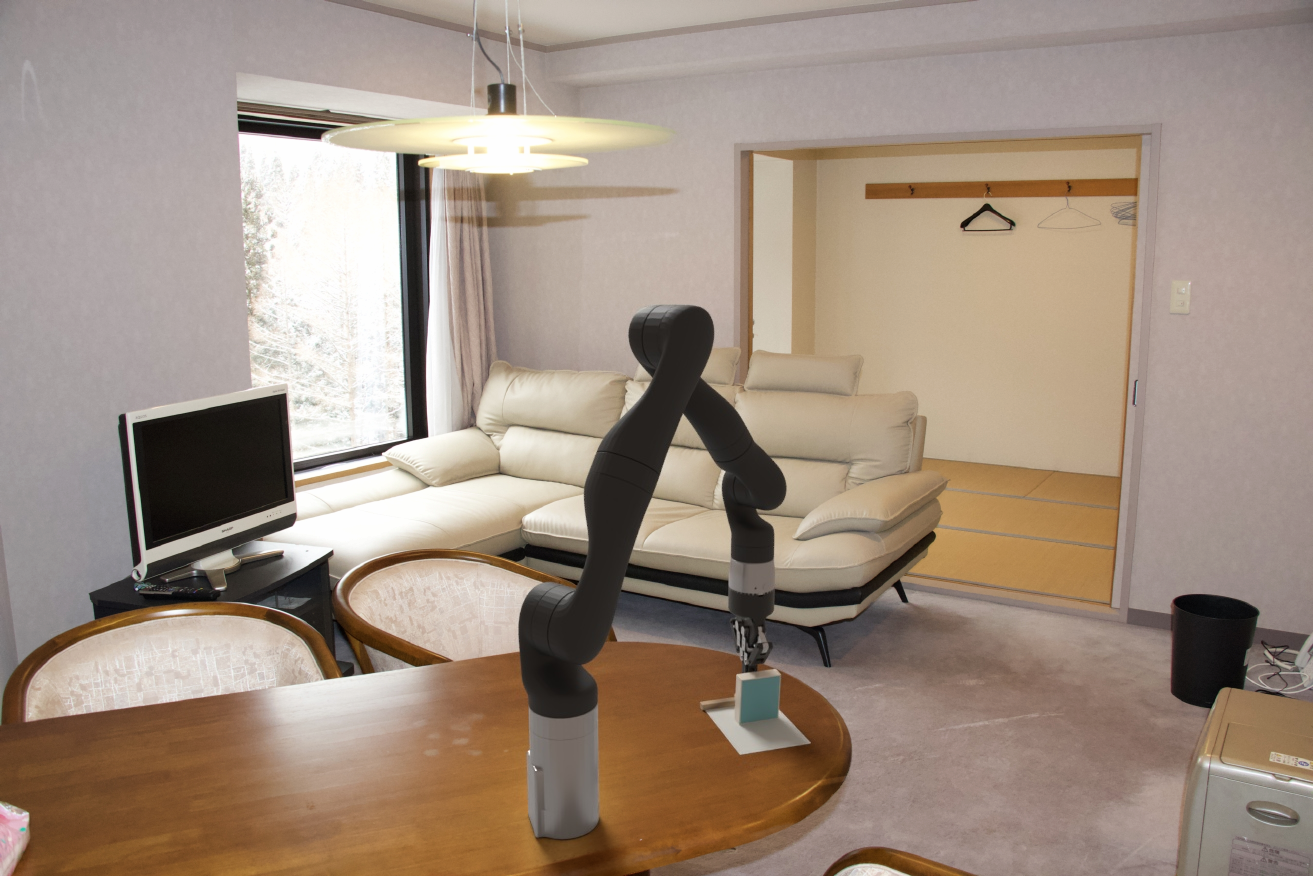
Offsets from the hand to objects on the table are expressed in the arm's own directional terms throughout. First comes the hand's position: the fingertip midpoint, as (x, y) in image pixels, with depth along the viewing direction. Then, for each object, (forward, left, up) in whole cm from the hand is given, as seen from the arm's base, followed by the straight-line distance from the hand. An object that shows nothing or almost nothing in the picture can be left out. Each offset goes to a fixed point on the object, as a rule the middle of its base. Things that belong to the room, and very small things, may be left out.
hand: (749, 683), depth 161 cm
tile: (0, -3, -5) cm, 6 cm away
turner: (-1, +3, -5) cm, 6 cm away
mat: (-1, -4, -6) cm, 7 cm away
